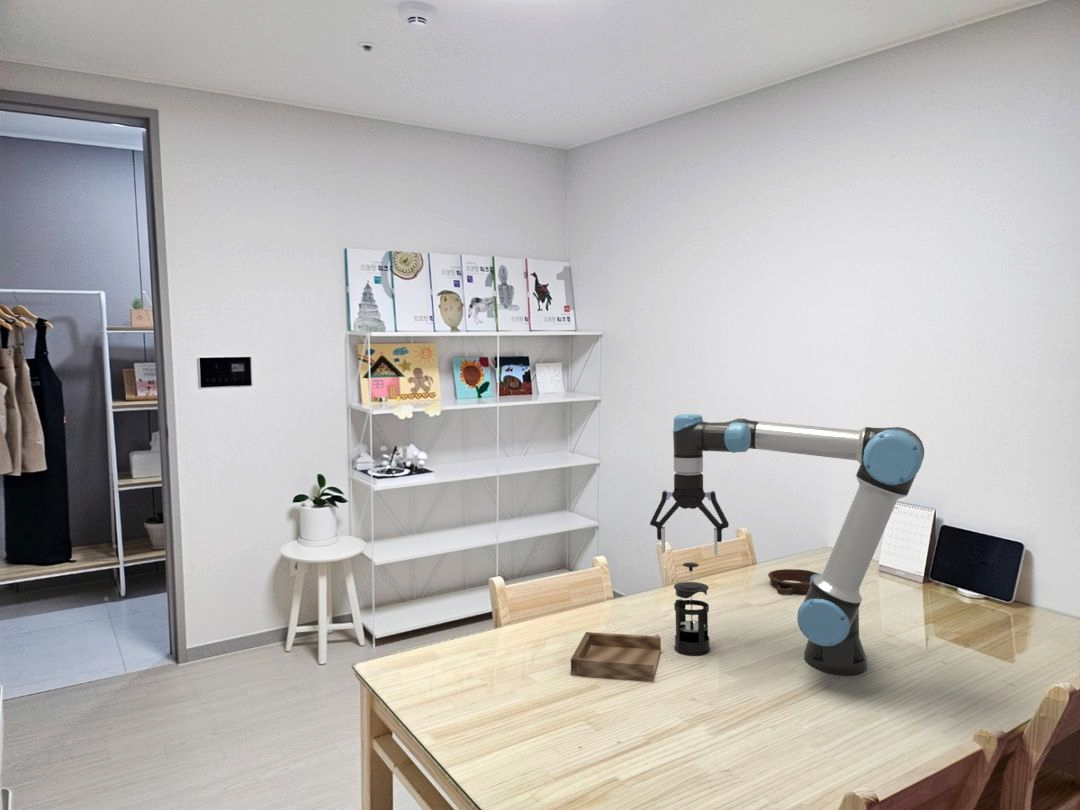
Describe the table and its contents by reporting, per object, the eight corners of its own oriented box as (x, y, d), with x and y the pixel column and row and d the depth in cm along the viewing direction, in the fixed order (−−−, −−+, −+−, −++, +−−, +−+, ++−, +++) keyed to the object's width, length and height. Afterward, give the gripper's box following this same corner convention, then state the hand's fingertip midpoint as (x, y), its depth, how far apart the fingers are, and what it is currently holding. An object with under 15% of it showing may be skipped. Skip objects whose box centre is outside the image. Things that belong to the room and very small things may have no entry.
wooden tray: (660, 651, 198) (660, 636, 198) (653, 681, 179) (653, 665, 179) (586, 646, 203) (585, 632, 203) (571, 675, 184) (570, 659, 184)
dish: (755, 592, 250) (755, 577, 249) (785, 578, 266) (785, 564, 265) (806, 602, 238) (806, 586, 237) (834, 587, 253) (834, 572, 253)
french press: (719, 653, 196) (717, 565, 195) (688, 659, 192) (686, 570, 191) (693, 639, 207) (692, 556, 206) (664, 644, 203) (662, 560, 202)
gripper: (737, 471, 198) (738, 551, 199) (642, 470, 204) (643, 548, 205) (737, 475, 191) (738, 558, 192) (639, 474, 197) (640, 554, 198)
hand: (689, 553), depth 198 cm, fingers open, 13 cm apart
